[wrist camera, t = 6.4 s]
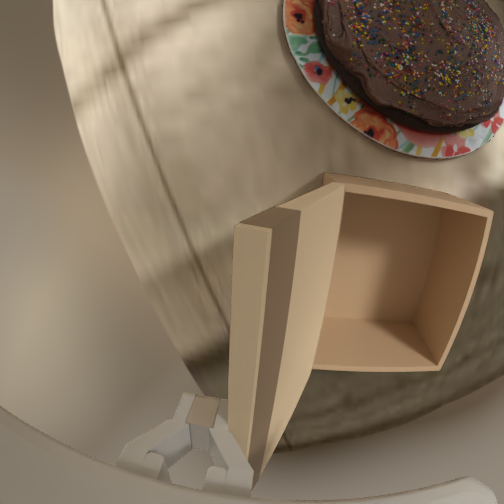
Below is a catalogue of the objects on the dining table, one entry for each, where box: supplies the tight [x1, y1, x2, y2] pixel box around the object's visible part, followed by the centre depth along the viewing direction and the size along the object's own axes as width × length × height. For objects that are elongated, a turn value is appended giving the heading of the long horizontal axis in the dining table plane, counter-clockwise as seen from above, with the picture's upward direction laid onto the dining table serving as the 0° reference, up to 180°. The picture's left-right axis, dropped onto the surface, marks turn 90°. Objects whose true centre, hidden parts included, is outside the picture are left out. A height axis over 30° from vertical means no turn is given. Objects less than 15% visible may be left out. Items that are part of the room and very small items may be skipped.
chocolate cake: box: [282, 0, 504, 159], centre depth 18 cm, size 28×28×7 cm
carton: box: [312, 172, 494, 372], centre depth 26 cm, size 14×16×9 cm
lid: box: [228, 182, 345, 491], centre depth 15 cm, size 14×16×1 cm
